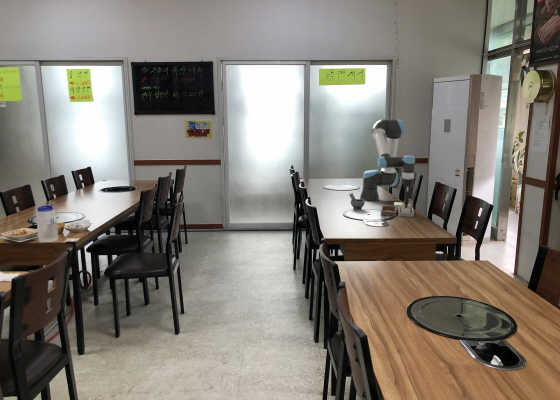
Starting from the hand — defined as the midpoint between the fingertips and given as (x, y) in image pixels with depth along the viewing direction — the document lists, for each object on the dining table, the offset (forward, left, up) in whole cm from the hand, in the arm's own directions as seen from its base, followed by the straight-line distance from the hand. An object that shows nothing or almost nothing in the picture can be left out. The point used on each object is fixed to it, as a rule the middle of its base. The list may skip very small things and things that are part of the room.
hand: (405, 211), depth 314 cm
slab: (-16, -3, -1) cm, 16 cm away
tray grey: (0, 0, -1) cm, 1 cm away
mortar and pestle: (-2, -34, -2) cm, 34 cm away
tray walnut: (0, -11, -1) cm, 11 cm away
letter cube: (0, 0, 0) cm, 0 cm away
